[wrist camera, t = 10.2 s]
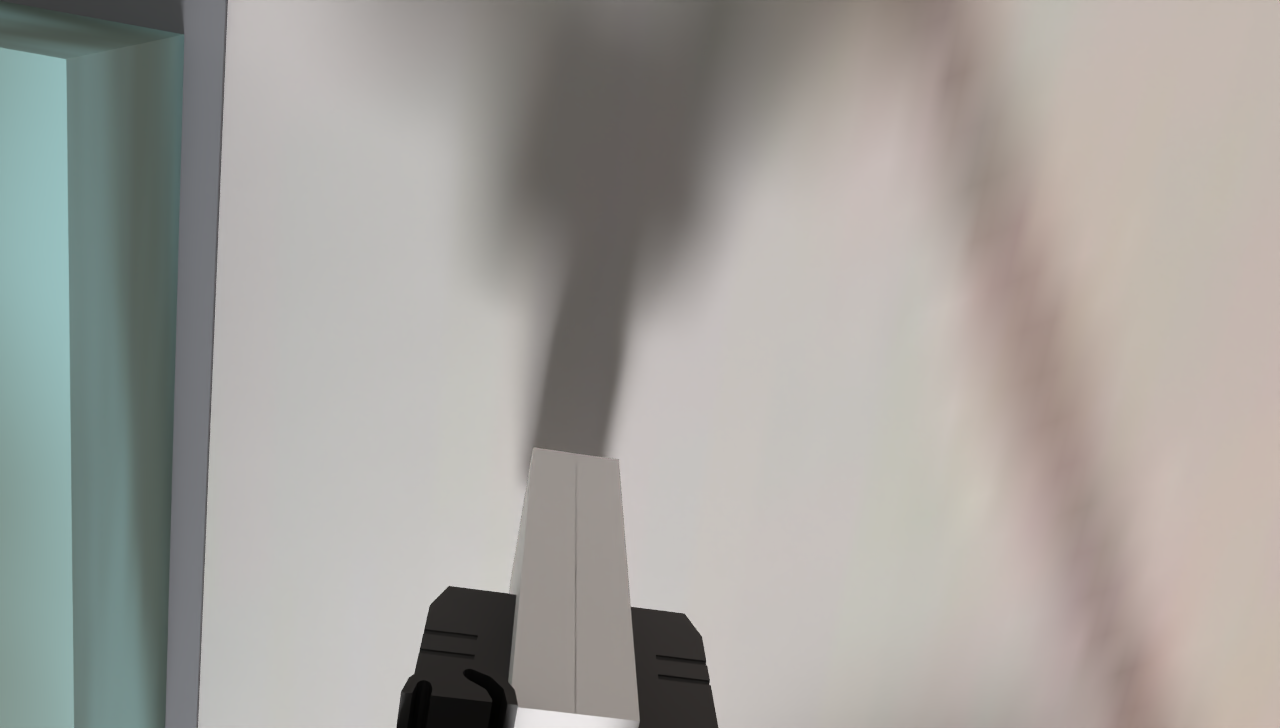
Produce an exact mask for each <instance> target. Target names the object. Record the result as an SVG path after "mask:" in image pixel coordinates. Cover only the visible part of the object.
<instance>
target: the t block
mask: <svg viewBox="0 0 1280 728" xmlns="http://www.w3.org/2000/svg"><path fill="white" fill-rule="evenodd" d="M183 66H184V34H179V33H173V32H168V31H162V30H157V29H151V28H146V27H140V26H135V25H129V24H124V23H119V22H113V21H108V20H102V19H97V18H91V17H86V16H80V15H75V14H69V13H64V12H58V11H53V10H48V9H42V8H37V7H31V6H26V5H20V4H15V3H9V2H4V1H0V728H165V717H166V680H167V644H168V608H169V572H170V536H171V500H172V464H173V428H174V391H175V355H176V319H177V283H178V247H179V211H180V175H181V138H182V102H183Z"/></svg>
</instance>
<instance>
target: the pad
mask: <svg viewBox="0 0 1280 728" xmlns="http://www.w3.org/2000/svg"><path fill="white" fill-rule="evenodd" d="M0 1H4V2H9V3H15V4H20V5H26V6H31V7H37V8H42V9H48V10H53V11H58V12H64V13H69V14H75V15H80V16H86V17H91V18H97V19H102V20H108V21H113V22H119V23H124V24H129V25H135V26H140V27H146V28H151V29H157V30H162V31H168V32H173V33H179V34H184V66H183V102H182V138H181V175H180V211H179V247H178V283H177V319H176V355H175V391H174V428H173V464H172V500H171V536H170V572H169V608H168V644H167V680H166V717H165V728H198V710H199V685H200V661H201V637H202V612H203V588H204V564H205V539H206V515H207V491H208V466H209V442H210V418H211V393H212V369H213V345H214V320H215V296H216V272H217V247H218V223H219V199H220V174H221V150H222V126H223V101H224V77H225V53H226V28H227V4H228V0H0Z"/></svg>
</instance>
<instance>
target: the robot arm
mask: <svg viewBox="0 0 1280 728" xmlns="http://www.w3.org/2000/svg"><path fill="white" fill-rule="evenodd" d="M709 682H710V679H709V674H708V668H707V665H706V657H705V652H704V646H703V641H702V636H701V635H700V634H699V632H698V631H697V630H696V628H695V627H694V626H693V624H692V623H691V622H690V620H689V619H688V618H687V616H686V615H685V614H683V613H675V612H667V611H659V610H651V609H643V608H636V607H631V605H630V593H629V580H628V568H627V555H626V543H625V531H624V518H623V506H622V493H621V481H620V469H619V460H618V459H611V458H605V457H598V456H591V455H584V454H577V453H570V452H563V451H556V450H549V449H542V448H536V447H533V451H532V457H531V463H530V468H529V474H528V480H527V486H526V492H525V498H524V504H523V510H522V516H521V522H520V527H519V533H518V539H517V545H516V551H515V557H514V563H513V569H512V575H511V581H510V590H509V594H507V593H499V592H491V591H483V590H475V589H468V588H460V587H452V586H449V587H448V588H447V589H446V590H445V591H444V592H443V593H442V594H441V595H440V596H439V597H438V598H437V599H436V600H435V601H434V602H433V603H432V604H431V605H430V607H429V612H428V616H427V620H426V625H425V629H424V634H423V638H422V643H421V647H420V653H419V656H418V660H417V665H416V669H415V673H414V675H412V676H411V677H409V679H408V681H407V682H406V684H405V686H404V688H403V690H402V691H401V697H400V705H399V713H398V720H397V728H718V724H717V718H716V712H715V707H714V701H713V696H712V690H711V685H709Z"/></svg>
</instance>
